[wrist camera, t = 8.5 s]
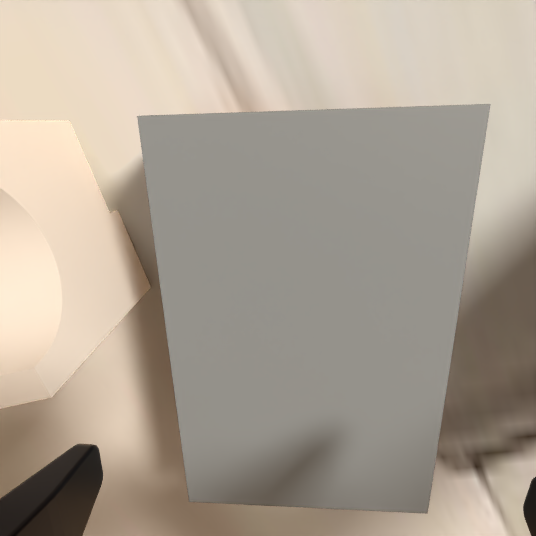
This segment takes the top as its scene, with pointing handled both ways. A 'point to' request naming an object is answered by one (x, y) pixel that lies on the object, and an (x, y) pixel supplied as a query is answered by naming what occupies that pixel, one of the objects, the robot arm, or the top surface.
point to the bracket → (56, 260)
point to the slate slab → (312, 295)
